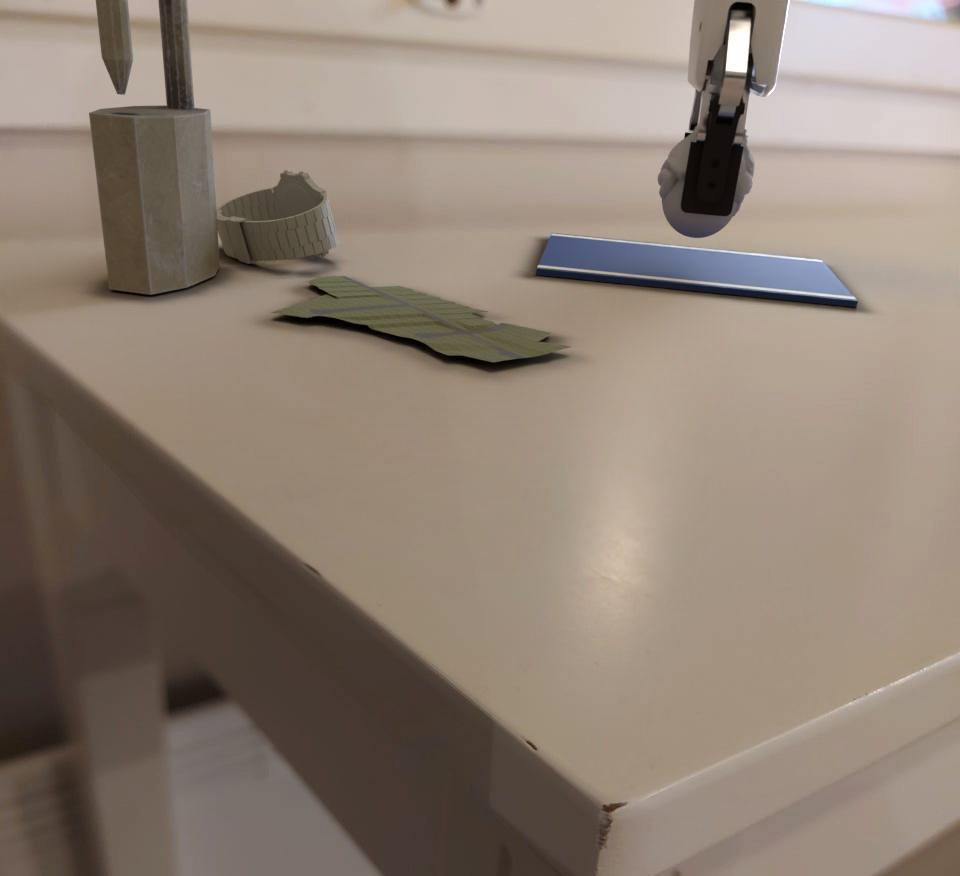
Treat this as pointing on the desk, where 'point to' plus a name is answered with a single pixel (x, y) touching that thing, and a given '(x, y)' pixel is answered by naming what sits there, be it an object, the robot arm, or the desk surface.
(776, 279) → the blue flat panel
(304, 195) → the wristwatch
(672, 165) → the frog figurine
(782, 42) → the robot arm
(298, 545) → the desk surface
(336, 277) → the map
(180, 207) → the pencil holder
